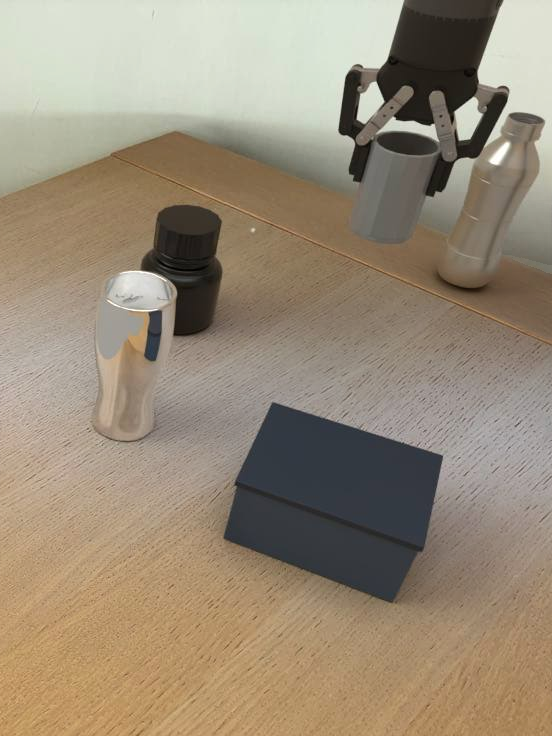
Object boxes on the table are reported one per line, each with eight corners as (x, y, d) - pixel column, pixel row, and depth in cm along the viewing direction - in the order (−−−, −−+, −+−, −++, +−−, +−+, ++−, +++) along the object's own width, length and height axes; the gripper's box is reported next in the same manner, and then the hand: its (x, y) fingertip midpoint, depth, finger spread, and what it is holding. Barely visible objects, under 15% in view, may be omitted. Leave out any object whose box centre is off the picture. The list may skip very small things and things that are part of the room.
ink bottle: (189, 286, 99) (204, 193, 92) (231, 325, 93) (252, 229, 86) (118, 303, 96) (128, 209, 89) (157, 344, 90) (171, 247, 83)
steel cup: (417, 223, 85) (446, 138, 79) (407, 249, 81) (437, 161, 75) (354, 209, 87) (379, 126, 82) (342, 235, 83) (367, 148, 77)
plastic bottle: (474, 301, 97) (546, 136, 84) (420, 278, 101) (481, 116, 88) (499, 282, 101) (572, 120, 88) (446, 260, 104) (508, 102, 92)
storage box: (415, 513, 72) (443, 455, 67) (394, 606, 64) (424, 547, 60) (256, 459, 77) (272, 401, 72) (220, 539, 69) (235, 480, 65)
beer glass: (74, 408, 82) (84, 278, 72) (135, 390, 84) (153, 262, 75) (108, 452, 77) (123, 319, 68) (172, 433, 79) (195, 301, 70)
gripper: (547, 2, 70) (476, 186, 81) (372, -18, 76) (327, 157, 86) (543, 25, 65) (468, 218, 76) (355, 2, 71) (310, 185, 81)
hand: (393, 185), depth 81 cm, fingers closed on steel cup, 6 cm apart
